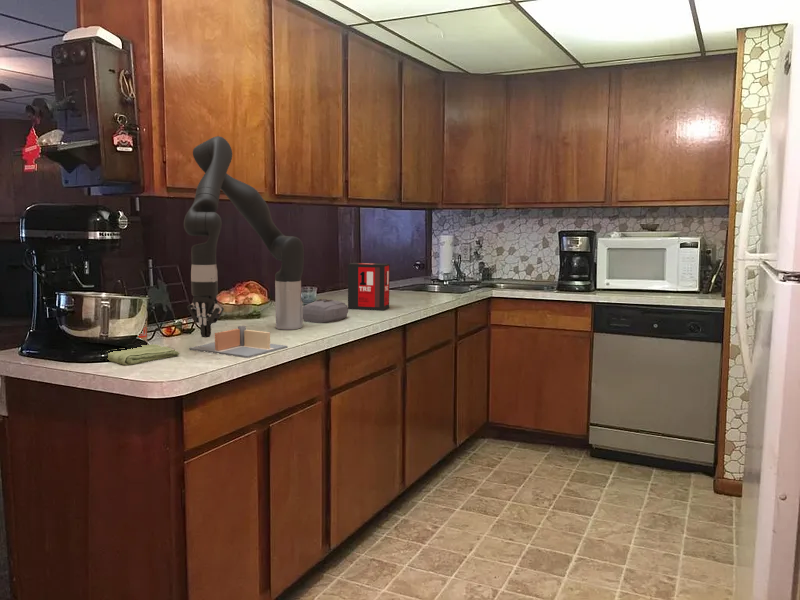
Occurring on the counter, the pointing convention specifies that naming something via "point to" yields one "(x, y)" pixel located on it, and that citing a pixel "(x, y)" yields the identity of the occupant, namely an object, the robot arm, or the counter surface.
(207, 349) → the slate board
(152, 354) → the washcloth
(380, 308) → the cleaning product box
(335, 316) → the soft grey pack
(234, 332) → the salmon long narrow block
